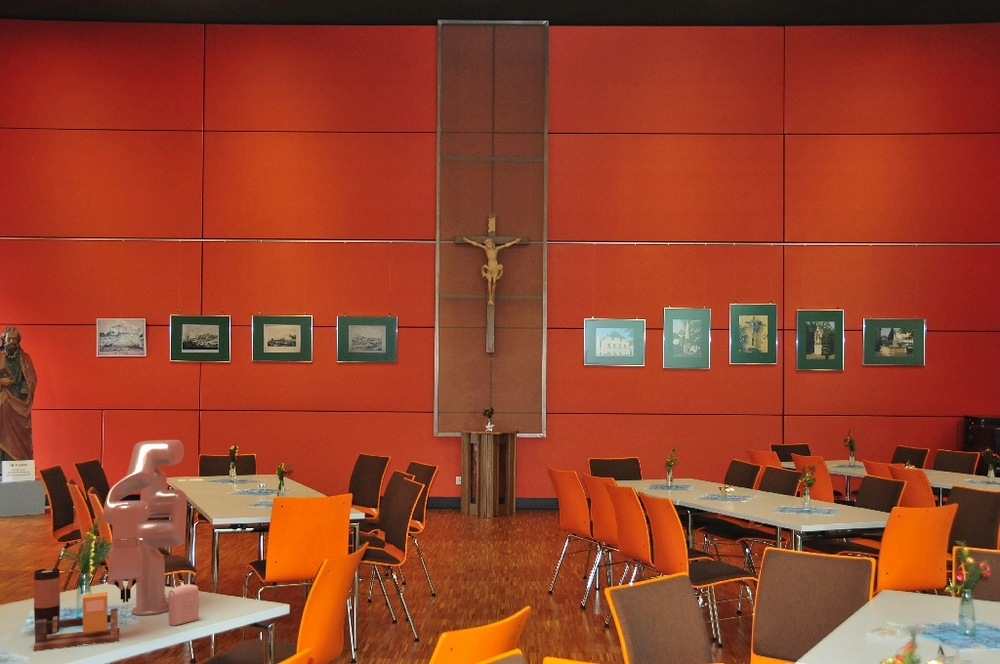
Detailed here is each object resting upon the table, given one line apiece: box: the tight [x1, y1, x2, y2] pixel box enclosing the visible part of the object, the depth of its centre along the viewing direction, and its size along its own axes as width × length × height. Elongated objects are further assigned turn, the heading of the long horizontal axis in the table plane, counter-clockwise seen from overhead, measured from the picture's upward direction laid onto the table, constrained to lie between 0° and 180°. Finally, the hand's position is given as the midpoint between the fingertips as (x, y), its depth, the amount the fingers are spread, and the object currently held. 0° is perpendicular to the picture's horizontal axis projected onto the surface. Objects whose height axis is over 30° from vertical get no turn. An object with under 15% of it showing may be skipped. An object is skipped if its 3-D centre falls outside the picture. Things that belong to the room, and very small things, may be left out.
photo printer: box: [168, 583, 200, 626], centre depth 322 cm, size 10×4×12 cm, turn 144°
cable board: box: [33, 607, 120, 652], centre depth 301 cm, size 24×12×8 cm, turn 111°
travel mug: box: [33, 567, 61, 635], centre depth 313 cm, size 8×8×20 cm
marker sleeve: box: [82, 591, 109, 633], centre depth 303 cm, size 7×6×11 cm
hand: (125, 601), depth 306 cm, fingers closed
